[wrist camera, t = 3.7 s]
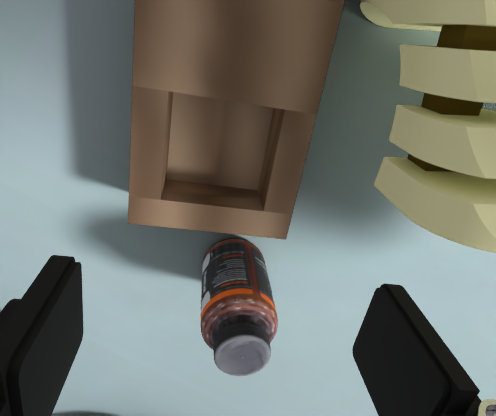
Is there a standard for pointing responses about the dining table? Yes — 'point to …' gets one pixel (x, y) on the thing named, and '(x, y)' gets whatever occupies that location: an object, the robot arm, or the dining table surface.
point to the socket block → (225, 110)
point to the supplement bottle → (237, 307)
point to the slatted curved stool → (445, 119)
